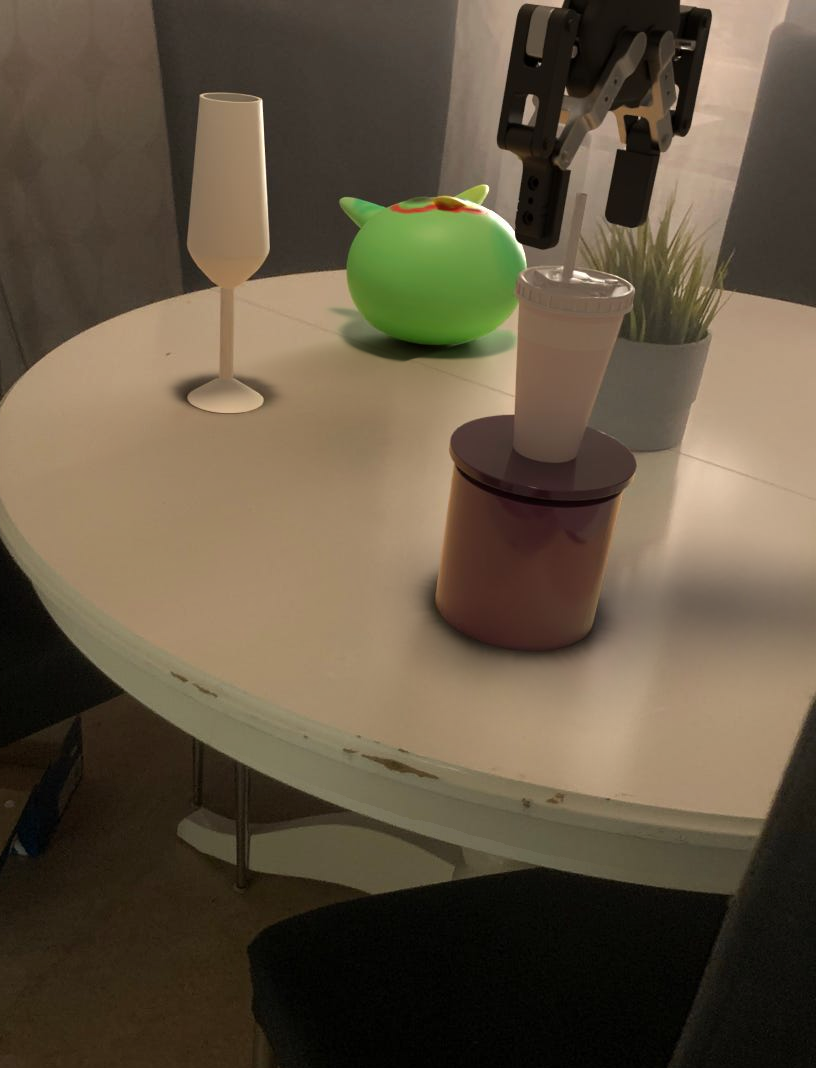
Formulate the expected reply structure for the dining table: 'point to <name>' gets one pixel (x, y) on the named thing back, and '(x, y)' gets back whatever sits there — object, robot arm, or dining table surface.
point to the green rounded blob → (433, 267)
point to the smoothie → (563, 349)
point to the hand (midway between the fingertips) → (581, 234)
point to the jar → (528, 536)
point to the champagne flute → (228, 224)
